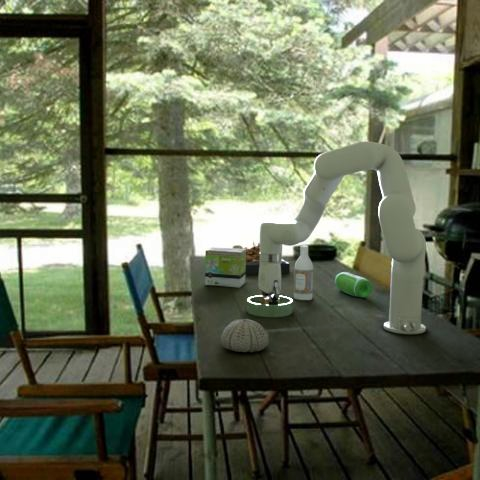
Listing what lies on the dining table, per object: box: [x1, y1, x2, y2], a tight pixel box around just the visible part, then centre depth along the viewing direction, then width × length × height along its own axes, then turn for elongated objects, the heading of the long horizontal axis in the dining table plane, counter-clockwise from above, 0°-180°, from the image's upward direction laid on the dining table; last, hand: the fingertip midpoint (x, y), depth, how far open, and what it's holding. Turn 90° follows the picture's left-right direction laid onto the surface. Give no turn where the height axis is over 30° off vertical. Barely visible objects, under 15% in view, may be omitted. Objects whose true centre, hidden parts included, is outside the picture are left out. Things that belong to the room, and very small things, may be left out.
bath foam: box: [293, 245, 314, 301], centre depth 230 cm, size 7×7×20 cm
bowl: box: [246, 294, 294, 318], centre depth 210 cm, size 15×15×4 cm
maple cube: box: [261, 294, 280, 305], centre depth 210 cm, size 5×5×5 cm
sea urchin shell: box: [220, 318, 271, 353], centre depth 170 cm, size 13×14×8 cm
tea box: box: [204, 246, 246, 289], centre depth 256 cm, size 15×10×15 cm, turn 76°
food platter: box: [232, 241, 291, 275], centre depth 303 cm, size 45×25×10 cm, turn 12°
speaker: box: [334, 271, 373, 299], centre depth 241 cm, size 18×7×8 cm, turn 21°
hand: (269, 310), depth 210 cm, fingers closed on maple cube, 5 cm apart
